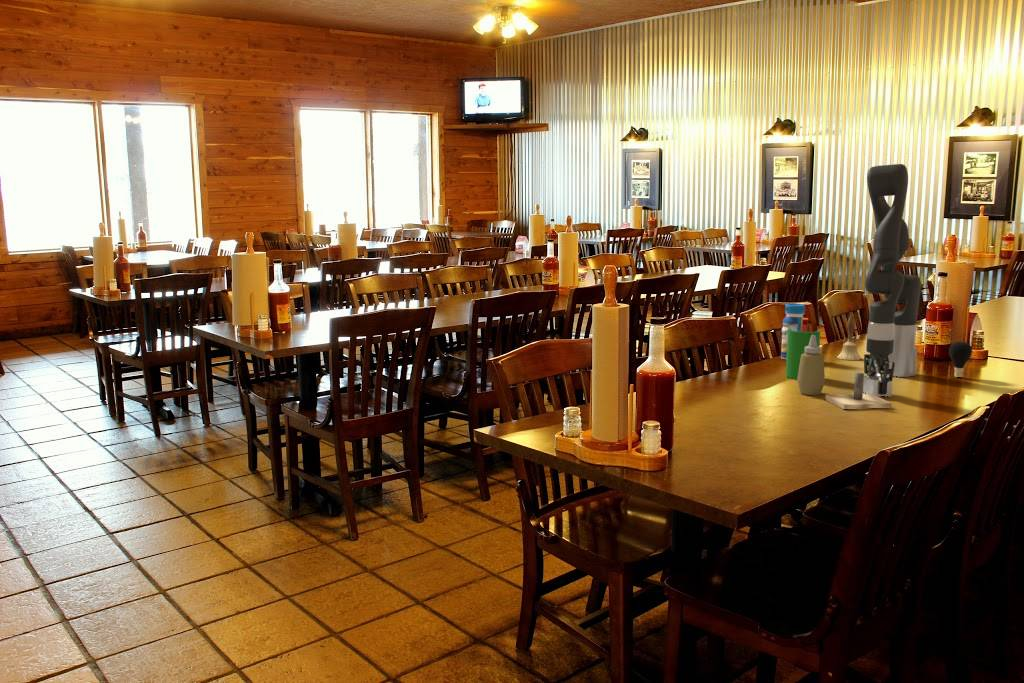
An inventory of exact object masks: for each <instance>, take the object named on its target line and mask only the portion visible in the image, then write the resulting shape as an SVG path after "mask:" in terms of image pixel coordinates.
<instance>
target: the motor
mask: <svg viewBox="0 0 1024 683" xmlns="http://www.w3.org/2000/svg"><path fill="white" fill-rule="evenodd" d="M808 326H809V317H804V318H802V326H801V332H798V331H792V330H791V329H788V336H787V357H786V360H785V361H786V362H785V365H786V366H785V377H786V378H788V377H789V378H788V379H792V378H793V379H794V380H797V378H798V372H799V366H800V359H801V355H802V354H803V353H805V347H806V346H809V342H810V339H811V335H816V341H817V346H818V347H821V346H820V344H821V329H817V330H815V331H808Z"/></svg>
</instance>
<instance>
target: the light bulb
mask: <svg viewBox="0 0 1024 683" xmlns="http://www.w3.org/2000/svg"><path fill="white" fill-rule="evenodd" d="M948 353H949V357H950V359H951V361H952V363H953V365H954V373H953V374H954V375H953V376H954V377H955V378H957V377H962V378H963V377H964V367H965V365H966V364H967V362H968V361H969V360H970V358H971V356H972V354H973V349H972V345H970V344H969V343H968V342H966V341H960V340H958V341H955V342H952V344H951V345H950V347H949V349H948Z"/></svg>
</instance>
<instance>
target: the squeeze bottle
mask: <svg viewBox="0 0 1024 683" xmlns="http://www.w3.org/2000/svg"><path fill="white" fill-rule="evenodd" d="M821 351H822V348H821V346H820V347H818V346H817V341H816V335H811V339H810V342H809V346H806V347H805V353H803V354H802V355H801V359H800V366H799V372H798V378H797V379H796V380H797V381H796V382H797V385H798V386H797V387H798V388H799V393H801V394H802V395H806V396H817V395H821V393H822V392H823V389H824V387H825V384H826V378H825V377H826V375H825V360H824V359H825V357H824V355H823V354H822V352H821Z"/></svg>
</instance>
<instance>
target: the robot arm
mask: <svg viewBox="0 0 1024 683" xmlns="http://www.w3.org/2000/svg"><path fill="white" fill-rule="evenodd" d="M866 182H867V189H868V190H867V191H868V194H869V197H870V202H871V207H872V211H873V215H874V216H873V217H874V223H875V233H874V235H873V245H872V246H873V247H872V248H873V250H872V260H871V263H870V266H869V269H868V272H867V273H866V277H865V281H864V288H865V289H866V291H867V293H869V294H873V295H883V297H884V299H883V300H879V301H874V302H872V303H871V304H870V307H869V314H868V315H869V317H868V318H869V319H868V326H867V331H866V332H867V334H866V345H865V346H866V353H867V354H864V355H863V373H864V375H865V374H866V376H879V381H880V382H879V394H880V395H885V394H887V383H888V382H890V381H892V380H893V378H894V377H896V376H897V378H907V377H913V376H916V374H917V359H918V347H917V346H916V339H917V338H916V335H917V326H918V325H917V323H918V322H917V321H918V315H919V307H920V306H919V304H920V296H921V289H922V281H921V278H920V277H919V276H918V275H912V274H903V273H902V272H901V271H899V270H895V269H896V267H897V265H898V264H899V262H900V260H901V259H902V258H903V257H904V255H905V254H906V253H907V251H908V249H909V248H910V242H911V241H910V236H909V235H910V234H909V227H908V225H907V222H906V221H905V220H904V218H903V216H904V212H905V204H906V199H907V194H908V193H907V192H908V184H909V172H908V168H907V166H906V165H905V164H903V163H896V164H884V165H875V166H871V167H870V168H869V169H868V171H867V173H866ZM890 196H891V197H892V196H894V197H893V200H892V204H891V205H889V204H888V202H887V200H886V198H885V197H890ZM880 268H881V269H880ZM879 269H880V270H879ZM897 303H900V304H902V303H903V304H905V307H904V308H903V309H901V310H898V311H896V308H897ZM882 376H883V378H882ZM892 382H893V381H892Z"/></svg>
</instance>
